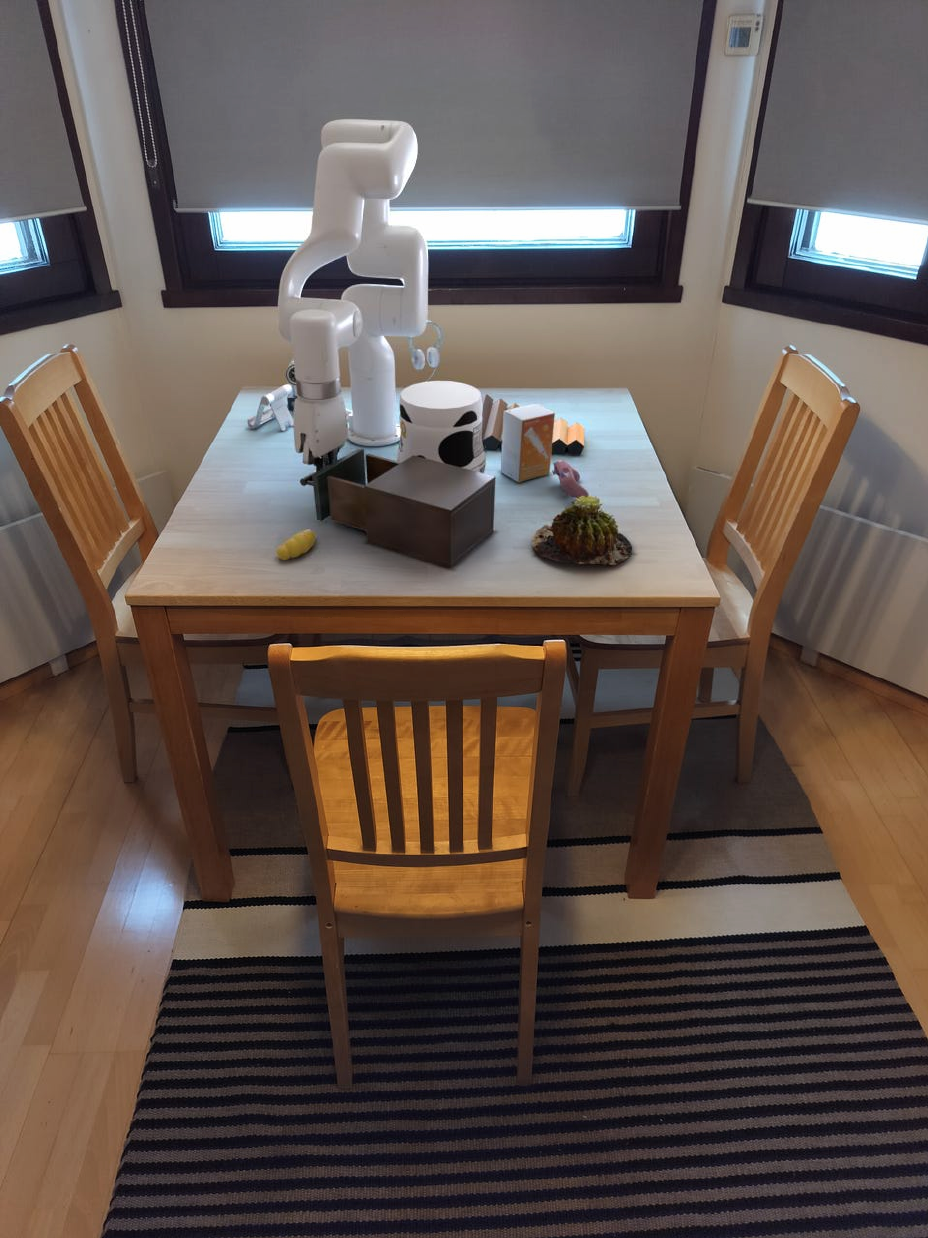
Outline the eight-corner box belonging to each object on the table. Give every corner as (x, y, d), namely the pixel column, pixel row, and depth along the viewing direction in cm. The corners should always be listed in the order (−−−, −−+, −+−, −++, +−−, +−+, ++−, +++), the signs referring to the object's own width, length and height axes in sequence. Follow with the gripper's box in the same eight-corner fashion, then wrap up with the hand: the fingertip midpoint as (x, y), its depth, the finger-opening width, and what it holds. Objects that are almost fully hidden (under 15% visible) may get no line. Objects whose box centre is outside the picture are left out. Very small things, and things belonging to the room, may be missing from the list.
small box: (518, 483, 164) (522, 420, 156) (499, 472, 168) (502, 409, 161) (550, 474, 168) (555, 412, 160) (531, 463, 172) (535, 402, 164)
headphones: (437, 401, 201) (437, 316, 190) (445, 406, 198) (445, 320, 187) (407, 407, 198) (404, 321, 186) (415, 412, 195) (413, 325, 183)
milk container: (386, 471, 168) (383, 383, 157) (467, 460, 173) (468, 374, 162) (411, 508, 154) (409, 415, 144) (498, 495, 159) (501, 404, 149)
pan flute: (478, 407, 198) (466, 448, 178) (478, 393, 196) (466, 433, 176) (583, 412, 196) (583, 455, 176) (584, 398, 194) (584, 440, 174)
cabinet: (367, 542, 144) (364, 485, 137) (414, 509, 154) (412, 455, 148) (450, 569, 137) (450, 510, 131) (493, 532, 147) (495, 476, 141)
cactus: (623, 525, 150) (629, 476, 144) (640, 571, 137) (648, 519, 131) (527, 525, 149) (531, 475, 144) (536, 571, 136) (539, 518, 131)
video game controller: (559, 487, 166) (546, 458, 162) (580, 477, 165) (567, 448, 161) (569, 510, 158) (555, 480, 154) (591, 499, 157) (577, 469, 153)
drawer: (292, 512, 150) (287, 467, 145) (338, 484, 160) (335, 441, 155) (388, 542, 142) (386, 495, 137) (430, 511, 152) (430, 466, 146)
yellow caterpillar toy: (292, 566, 137) (290, 548, 135) (274, 560, 138) (271, 542, 136) (325, 544, 143) (323, 526, 141) (307, 538, 145) (305, 521, 143)
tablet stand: (271, 415, 192) (266, 380, 187) (299, 421, 189) (295, 385, 185) (248, 428, 185) (243, 391, 181) (277, 434, 183) (273, 397, 178)
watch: (287, 413, 193) (282, 366, 187) (291, 401, 200) (286, 355, 194) (311, 413, 194) (307, 366, 187) (314, 401, 200) (310, 355, 194)
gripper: (328, 371, 149) (335, 466, 159) (272, 395, 138) (284, 496, 148) (362, 378, 146) (367, 475, 156) (308, 404, 135) (318, 506, 145)
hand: (327, 485), depth 152 cm, fingers closed
